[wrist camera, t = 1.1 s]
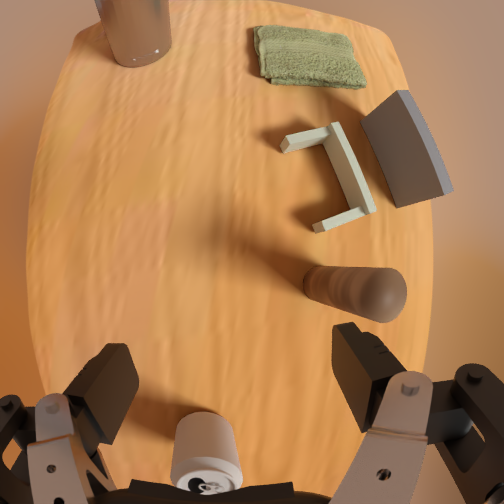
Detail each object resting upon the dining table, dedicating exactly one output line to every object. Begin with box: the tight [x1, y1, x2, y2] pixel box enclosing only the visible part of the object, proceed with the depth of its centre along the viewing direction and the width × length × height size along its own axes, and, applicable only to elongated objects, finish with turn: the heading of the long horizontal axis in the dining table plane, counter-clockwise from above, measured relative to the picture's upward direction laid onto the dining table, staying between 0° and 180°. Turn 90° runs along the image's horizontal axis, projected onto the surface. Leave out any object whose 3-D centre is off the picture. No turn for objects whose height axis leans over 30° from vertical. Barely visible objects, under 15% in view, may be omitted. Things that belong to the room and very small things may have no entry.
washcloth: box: [253, 25, 367, 89], centre depth 34 cm, size 13×18×3 cm
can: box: [170, 412, 243, 495], centre depth 25 cm, size 8×8×12 cm
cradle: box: [279, 122, 377, 234], centre depth 32 cm, size 12×7×4 cm, turn 21°
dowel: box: [303, 266, 407, 323], centre depth 27 cm, size 4×4×14 cm
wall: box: [360, 90, 454, 208], centre depth 31 cm, size 14×2×10 cm, turn 21°
